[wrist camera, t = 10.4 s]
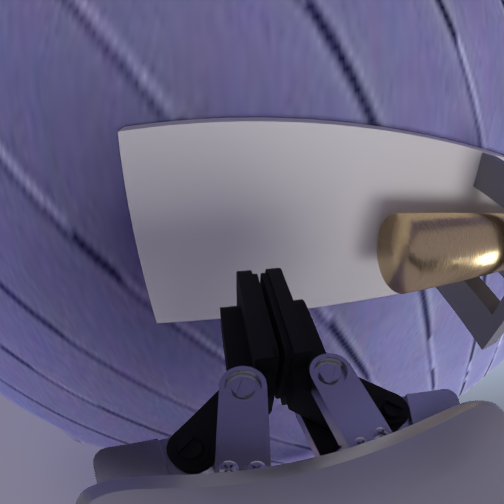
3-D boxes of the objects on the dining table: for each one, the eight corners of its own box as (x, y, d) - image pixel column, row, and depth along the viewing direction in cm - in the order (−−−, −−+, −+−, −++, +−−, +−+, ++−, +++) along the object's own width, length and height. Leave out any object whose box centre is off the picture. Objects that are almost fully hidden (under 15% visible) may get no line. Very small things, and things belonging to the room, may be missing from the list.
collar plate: (527, 256, 23) (569, 303, 16) (157, 311, 17) (154, 451, 10) (557, 176, 17) (610, 218, 10) (123, 126, 11) (16, 239, 4)
